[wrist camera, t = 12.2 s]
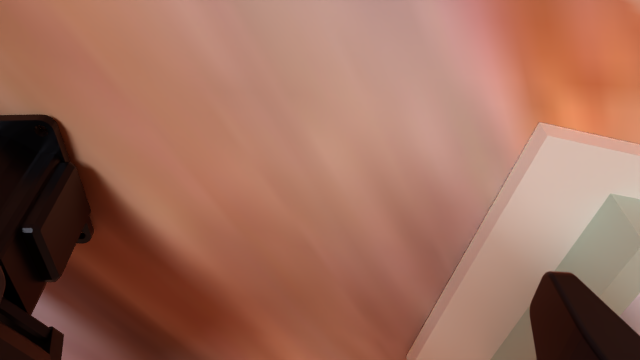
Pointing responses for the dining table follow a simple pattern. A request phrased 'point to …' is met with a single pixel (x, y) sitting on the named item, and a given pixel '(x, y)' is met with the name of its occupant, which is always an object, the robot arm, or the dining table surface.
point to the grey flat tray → (542, 245)
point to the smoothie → (633, 314)
